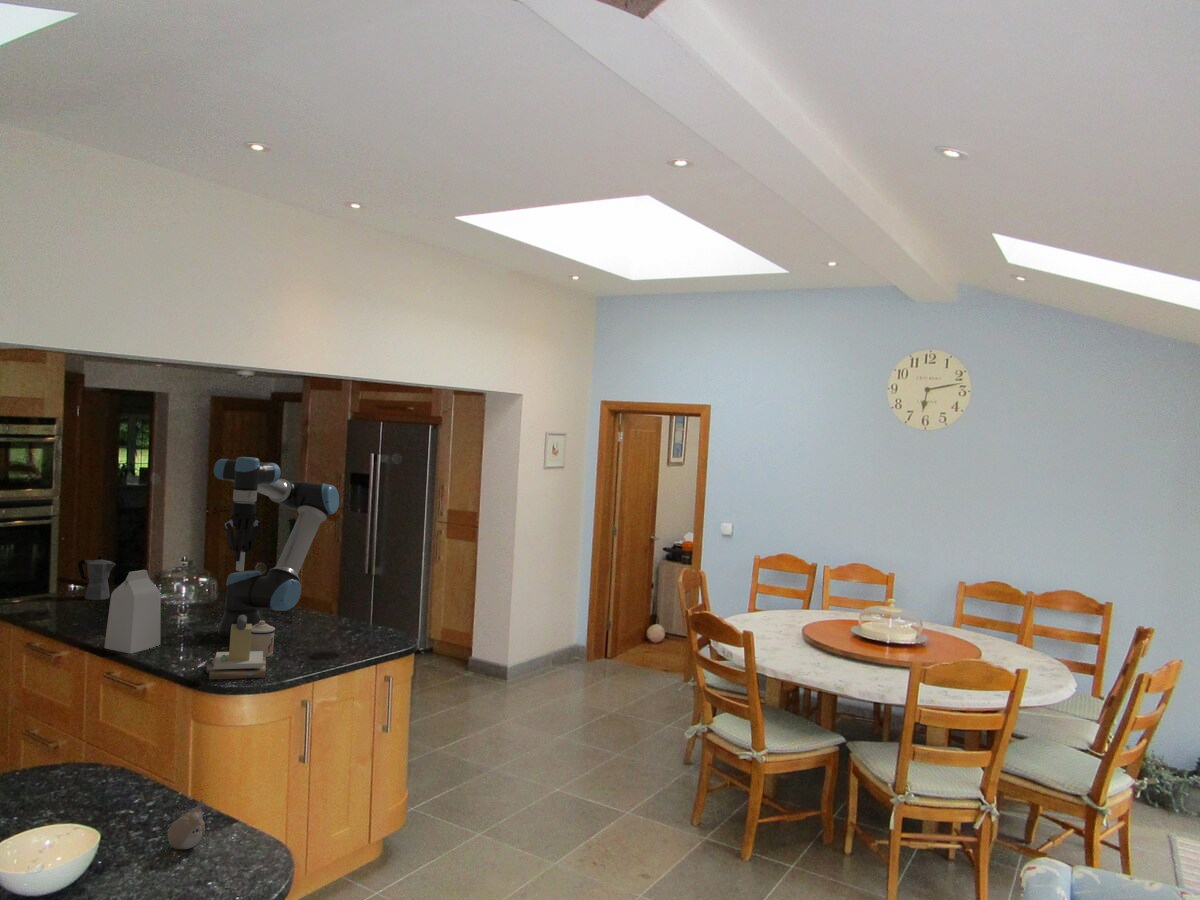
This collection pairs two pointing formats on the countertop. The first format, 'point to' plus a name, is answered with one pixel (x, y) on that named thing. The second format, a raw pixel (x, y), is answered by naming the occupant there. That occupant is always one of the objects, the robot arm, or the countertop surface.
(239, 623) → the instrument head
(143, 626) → the milk
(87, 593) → the coffeepot
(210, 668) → the brown layered stack
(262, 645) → the teacup with lid
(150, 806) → the countertop surface
